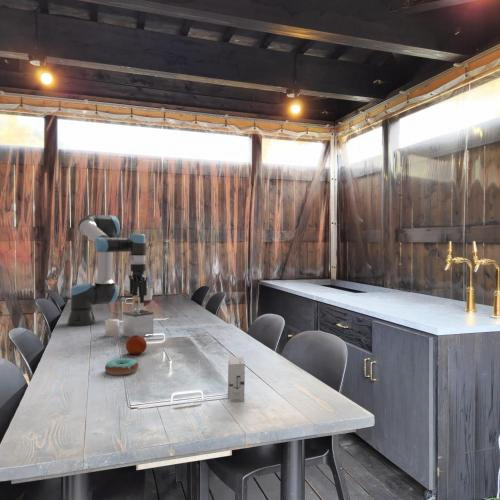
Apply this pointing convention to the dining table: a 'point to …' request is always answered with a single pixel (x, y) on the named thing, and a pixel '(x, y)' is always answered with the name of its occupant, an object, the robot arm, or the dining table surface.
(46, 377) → the dining table surface
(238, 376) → the ink box
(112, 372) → the donut
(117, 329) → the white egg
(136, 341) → the fruit
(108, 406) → the dining table surface
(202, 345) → the dining table surface
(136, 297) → the gold knobbed rod
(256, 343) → the dining table surface
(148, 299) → the wineglass
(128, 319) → the grey block with hole
